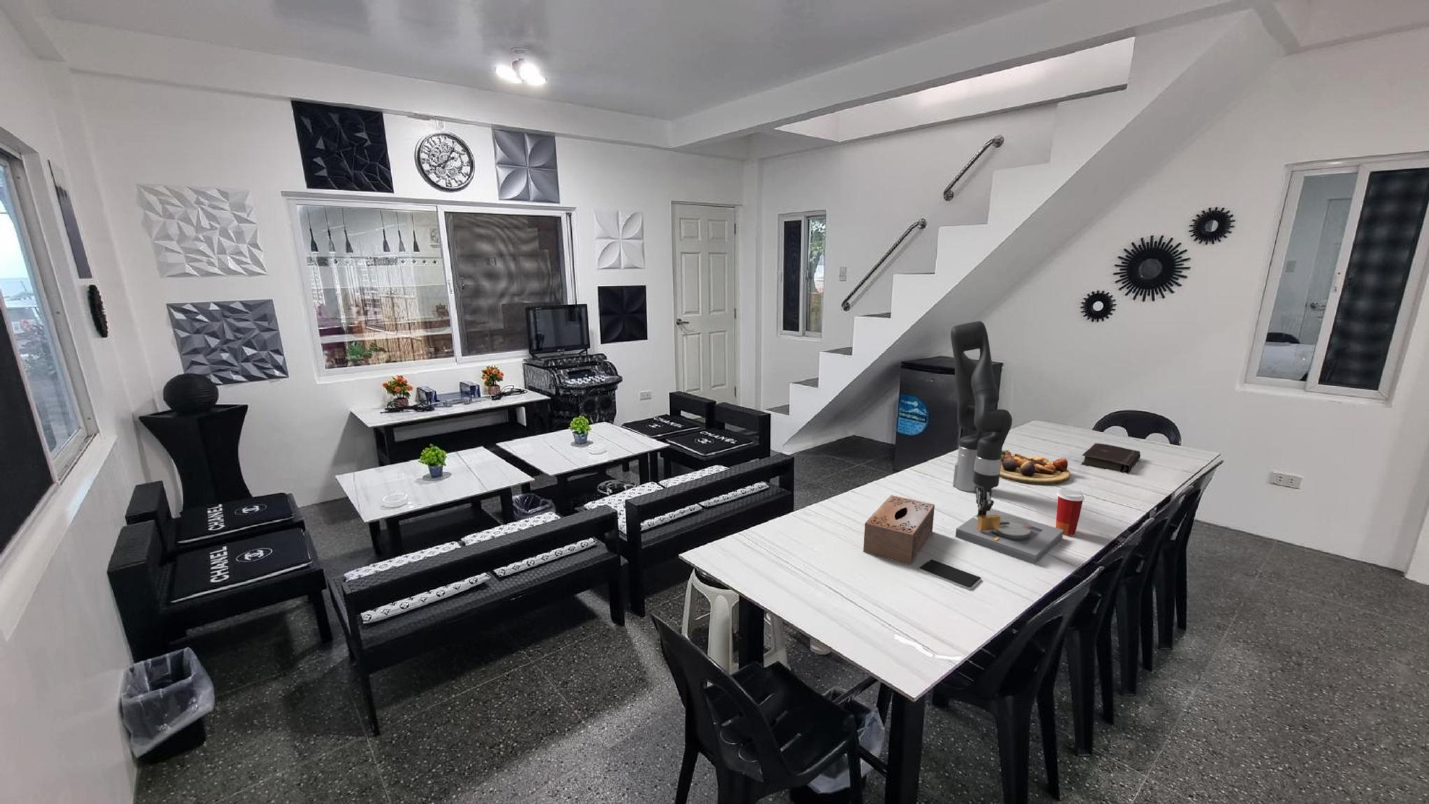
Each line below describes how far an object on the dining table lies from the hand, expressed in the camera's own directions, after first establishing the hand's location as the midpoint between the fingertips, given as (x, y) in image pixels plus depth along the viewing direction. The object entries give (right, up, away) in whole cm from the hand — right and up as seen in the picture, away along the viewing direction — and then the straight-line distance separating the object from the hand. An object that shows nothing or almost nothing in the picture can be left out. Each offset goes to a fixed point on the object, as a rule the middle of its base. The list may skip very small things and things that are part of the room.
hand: (981, 519), depth 185 cm
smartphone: (-20, -12, -22) cm, 32 cm away
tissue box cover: (-28, -7, -2) cm, 29 cm away
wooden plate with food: (+46, +8, +57) cm, 74 cm away
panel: (+9, -6, -1) cm, 10 cm away
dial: (+6, -4, -1) cm, 7 cm away
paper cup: (+29, -5, +3) cm, 30 cm away
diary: (+89, +11, +68) cm, 113 cm away
